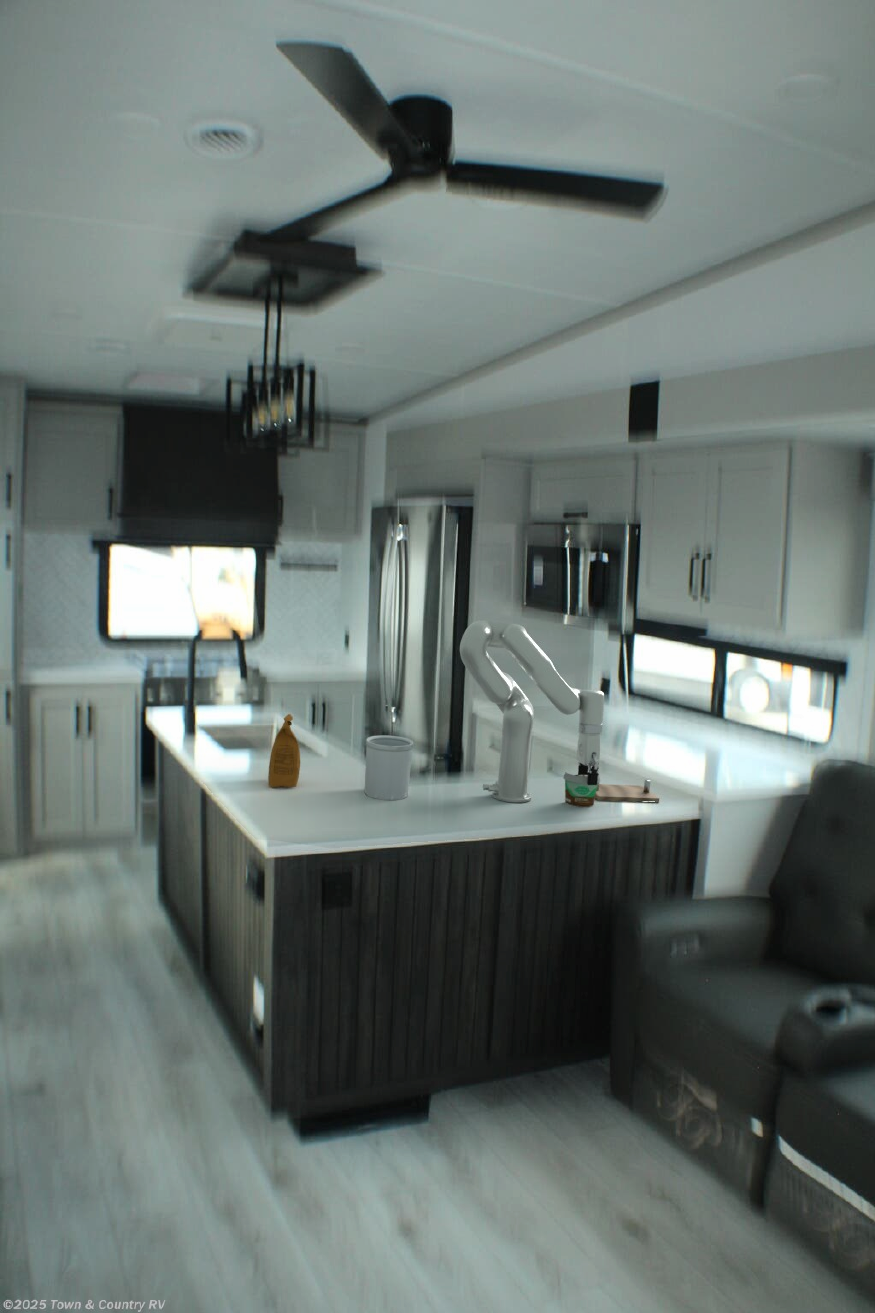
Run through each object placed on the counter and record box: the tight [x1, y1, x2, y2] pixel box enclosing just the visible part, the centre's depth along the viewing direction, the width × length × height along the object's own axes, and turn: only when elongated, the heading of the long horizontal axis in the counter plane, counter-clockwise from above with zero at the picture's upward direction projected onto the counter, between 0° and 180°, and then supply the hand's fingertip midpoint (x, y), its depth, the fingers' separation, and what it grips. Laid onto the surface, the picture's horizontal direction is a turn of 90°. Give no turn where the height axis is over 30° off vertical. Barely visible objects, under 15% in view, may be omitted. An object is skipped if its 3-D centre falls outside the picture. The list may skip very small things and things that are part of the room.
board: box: [595, 779, 660, 803], centre depth 337 cm, size 21×16×6 cm
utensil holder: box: [364, 734, 414, 801], centre depth 314 cm, size 15×15×18 cm
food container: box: [562, 771, 601, 808], centre depth 320 cm, size 12×6×10 cm, turn 101°
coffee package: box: [267, 713, 301, 789], centre depth 316 cm, size 10×12×22 cm
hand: (587, 781), depth 319 cm, fingers open, 9 cm apart
